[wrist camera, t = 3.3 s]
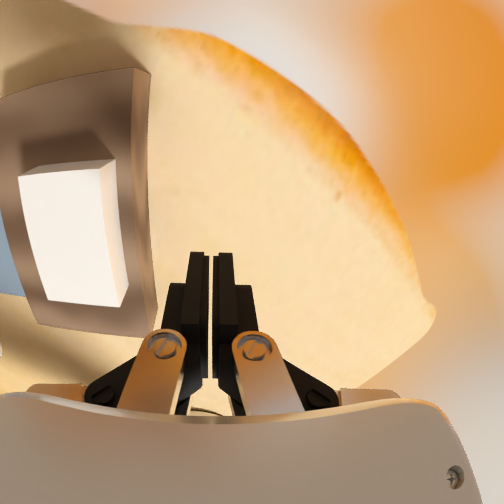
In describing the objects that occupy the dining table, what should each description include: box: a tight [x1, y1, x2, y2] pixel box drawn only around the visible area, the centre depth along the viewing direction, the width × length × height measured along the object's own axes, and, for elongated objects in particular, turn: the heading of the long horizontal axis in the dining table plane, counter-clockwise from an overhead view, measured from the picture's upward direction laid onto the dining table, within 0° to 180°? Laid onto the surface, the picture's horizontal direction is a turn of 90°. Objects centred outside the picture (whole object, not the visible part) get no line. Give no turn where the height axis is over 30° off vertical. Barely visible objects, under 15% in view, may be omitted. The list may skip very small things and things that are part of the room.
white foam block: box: [18, 159, 129, 307], centre depth 15 cm, size 9×6×2 cm, turn 174°
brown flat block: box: [0, 67, 158, 338], centre depth 18 cm, size 20×12×4 cm, turn 174°
